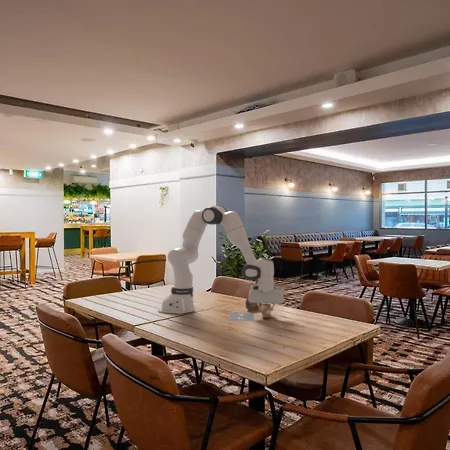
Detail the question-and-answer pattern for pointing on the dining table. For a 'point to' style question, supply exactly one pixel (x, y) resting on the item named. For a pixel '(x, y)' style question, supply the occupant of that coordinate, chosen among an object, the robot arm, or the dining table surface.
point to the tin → (252, 305)
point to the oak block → (266, 309)
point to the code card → (241, 316)
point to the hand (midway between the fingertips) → (266, 310)
